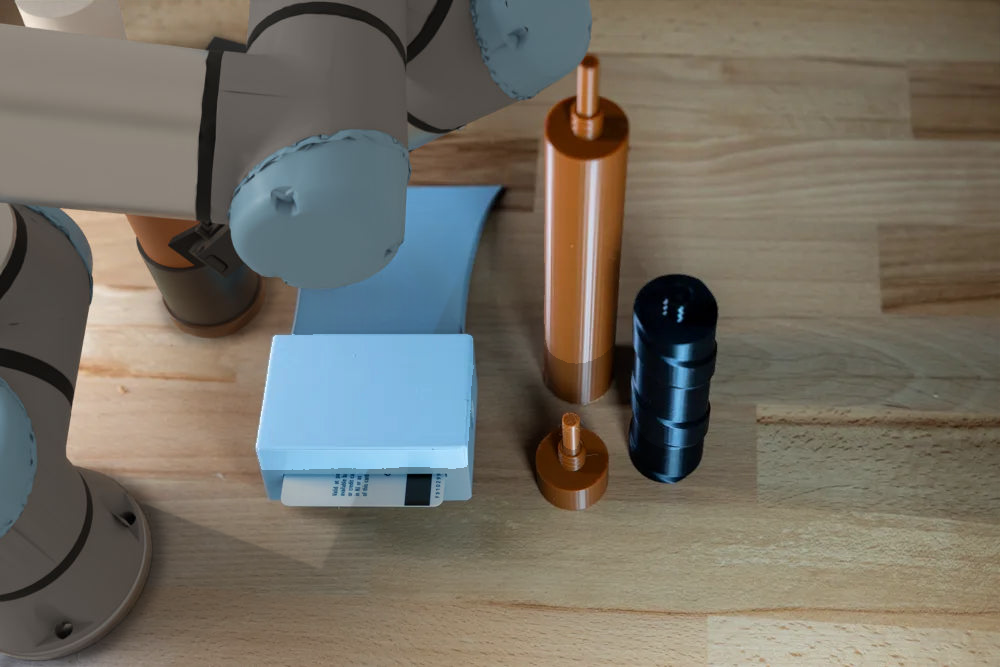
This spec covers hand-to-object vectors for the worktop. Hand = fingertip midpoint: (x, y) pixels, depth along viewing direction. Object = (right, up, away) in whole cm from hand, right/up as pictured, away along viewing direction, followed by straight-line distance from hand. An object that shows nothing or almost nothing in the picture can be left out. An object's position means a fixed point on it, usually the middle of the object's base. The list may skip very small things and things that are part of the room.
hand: (228, 182), depth 88 cm
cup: (-20, +15, +32) cm, 41 cm away
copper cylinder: (-6, -3, +9) cm, 11 cm away
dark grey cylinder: (-5, -8, +18) cm, 20 cm away
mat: (-6, +14, +30) cm, 34 cm away
